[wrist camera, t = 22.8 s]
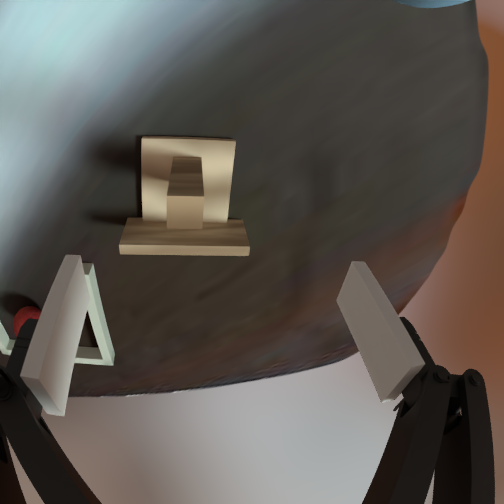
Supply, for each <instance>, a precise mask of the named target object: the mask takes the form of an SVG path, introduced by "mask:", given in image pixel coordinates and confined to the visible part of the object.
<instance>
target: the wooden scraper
mask: <svg viewBox="0 0 504 504" xmlns="http://www.w3.org/2000/svg"><path fill="white" fill-rule="evenodd" d="M235 145H236V141H235V139H221V138H201V137H164V136H143V137H142V146H141V173H142V212H143V218H127V221H126V224H125V228H124V231H123V234H122V237H121V240H120V243H119V248H120V254H146V255H223V256H249V250H250V245H249V241H248V238H247V234H246V230H245V227H244V223H243V220H235V219H227V217H228V208H229V198H230V189H231V180H232V171H233V162H234V154H235Z"/></svg>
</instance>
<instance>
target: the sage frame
mask: <svg viewBox="0 0 504 504" xmlns="http://www.w3.org/2000/svg"><path fill="white" fill-rule="evenodd" d="M82 265H83V270H84V274H85V279H86V283H87V287H88V291H89V296H90V302H89V306H88V309H87V310H88V314H89V317H90V320H91V324H92V327H93V330H94V334H95V337H96V340H97V343H98V346H99V348H94V347H79V346H78V348H77V352H76V357H75V361H74V363H85V364H98V365H113V363H114V356H115V353H114V349H113V346H112V342H111V339H110V335H109V331H108V328H107V324H106V320H105V316H104V312H103V308H102V303H101V299H100V295H99V290H98V285H97V281H96V276H95V271H94V266H93V263H83V264H82ZM14 343H15V340H11V339H9V337H8V335H7V333H6V331H5V329H4V327H3V326H2V324H1V322H0V350H1V352H2V353H3V354H8V355H10V354H11V352H12V349H13V347H14Z"/></svg>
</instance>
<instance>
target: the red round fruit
mask: <svg viewBox="0 0 504 504" xmlns="http://www.w3.org/2000/svg"><path fill="white" fill-rule="evenodd" d="M41 312H42V311H41V310H40V309H38V308H37V307H32V306H27V307H23V308H21V309H20V310H19V311H18V312H17V314H16V315H15V317H14V320H13V327H14V332H15V335H16V337H17V335H18V332H19V330H20V327H21V326H22V325H23V324H24V322H25V321H26V320H27V319H28V318H31V319H39V317H40V315H41Z"/></svg>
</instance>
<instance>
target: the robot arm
mask: <svg viewBox="0 0 504 504" xmlns="http://www.w3.org/2000/svg"><path fill="white" fill-rule="evenodd" d="M393 1H396V2H398V3H402V4H407V5H409V6H414V7H419V8H438V7H446V6H452V5H456V4H460V3H463V2H466V1H469V0H393ZM336 301H337V304H338V306H339V308H340V310H341V312H342V314H343V316H344V319H345V321H346V323H347V325H348V327H349V329H350V332H351V334H352V336H353V338H354V340H355V343H356V345H357V347H358V349H359V352H360V354H361V356H362V358H363V361H364V363H365V365H366V367H367V369H368V372H369V374H370V376H371V379H372V381H373V384H374V386H375V388H376V391H377V393H378V396H379V398H380V400H381V402H387V401H391V400H395V399H396V398H397V397H398V396H399V394H401V392H402V394H403V397H404V398H403V399H402V400H401V401H400V403H399V404H398V405H397V406H396V407H395V408H394V410H393V411H396V410H397V409H398V408H399V410H398V413H397V416H396V419H395V422H394V425H393V428H392V431H391V434H390V437H389V440H388V442H387V445H386V448H385V450H384V453H383V456H382V458H381V461H380V464H379V466H378V468H377V471H376V473H375V476H374V478H373V480H372V483H371V485H370V487H369V489H368V492H367V494H366V496H365V498H364V500H363V502H362V504H424V502H425V499H426V496H427V493H428V490H429V487H430V483H431V480H432V477H433V473H434V469H435V474H434V475H435V476H434V490H433V501H432V504H495V478H494V455H493V442H492V431H491V422H490V414H489V407H488V400H487V394H486V388H485V382H484V379H483V377H482V375H481V374H480V373H479V372H478V371H477V370H474V369H468V370H466V371H465V372H464V373H463V375H454V374H450V373H449V372H448V370H447V369H446V368H444V367H442V366H439V365H435V363H434V361H433V360H432V358H431V356H430V354H429V353H428V351H427V349H426V347H425V346H424V344H423V342H422V341H421V339H420V337H419V335H418V334H417V332H416V330H415V328H414V327H413V326H412V324H411V323H410V322H409V321H408V320H407V319H406V318H405V317H399V316H398V315H397V313H396V311H395V310H394V308H393V306H392V305H391V303H390V301H389V300H388V298H387V296H386V295H385V293H384V292H383V290H382V288H381V287H380V285H379V284H378V282H377V280H376V279H375V277H374V276H373V274H372V272H371V271H370V269H369V268H368V266H367V265H366V263H365V262H358V261H352V263H351V265H350V268H349V270H348V273H347V275H346V278H345V280H344V283H343V285H342V288H341V290H340V293H339V295H338V298H337V300H336ZM89 302H90V296H89V291H88V287H87V283H86V279H85V274H84V270H83V265H82V260H81V255H66V256H65V258H64V260H63V262H62V264H61V267H60V269H59V271H58V273H57V276H56V278H55V280H54V283H53V285H52V287H51V290H50V292H49V294H48V297H47V299H46V302H45V304H44V307H43V309H42V312H41V315H40V317H39V319H31V318H28V319H27V320H26V321H25V322H24V324H23V325H22V326H21V327H20V330H19V332H18V335H17V339H16V340H15V343H14V347H13V349H12V352H11V354H10V357H9V360H8V363H7V366H6V368H5V367H3V366H1V365H0V504H26V501H25V498H24V496H23V493H22V490H21V487H20V484H19V481H18V478H17V474H16V471H15V468H14V465H13V461H12V457H11V454H10V450H9V446H8V442H7V438H8V440H9V442H10V444H11V446H12V448H13V450H14V452H15V454H16V456H17V458H18V460H19V462H20V464H21V465H22V467H23V469H24V470H25V472H26V474H27V476H28V478H29V479H30V481H31V482H32V484H33V486H34V488H35V489H36V491H37V492H38V494H39V496H40V497H41V499H42V500H43V502H44V503H45V504H102V503H101V502H100V501H99V500H98V498H97V497H96V496H95V495H94V494H93V492H92V491H91V489H90V488H89V487H88V486H87V484H86V483H85V482H84V480H83V479H82V478H81V476H80V475H79V474H78V472H77V471H76V469H75V468H74V467H73V465H72V464H71V462H70V461H69V459H68V458H67V456H66V455H65V453H64V452H63V450H62V449H61V447H60V446H59V444H58V443H57V441H56V439H55V438H54V436H53V435H52V433H51V431H50V430H49V428H48V426H47V424H46V423H45V421H44V419H43V418H42V417H41V412H42V407H43V408H44V410H45V411H46V413H47V414H52V415H58V416H64V414H65V408H66V402H67V397H68V391H69V386H70V381H71V376H72V371H73V366H74V361H75V357H76V352H77V348H78V344H79V340H80V336H81V332H82V328H83V324H84V320H85V316H86V313H87V309H88V306H89ZM460 410H461V414H462V415H461V414H460ZM6 436H7V438H6Z"/></svg>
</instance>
